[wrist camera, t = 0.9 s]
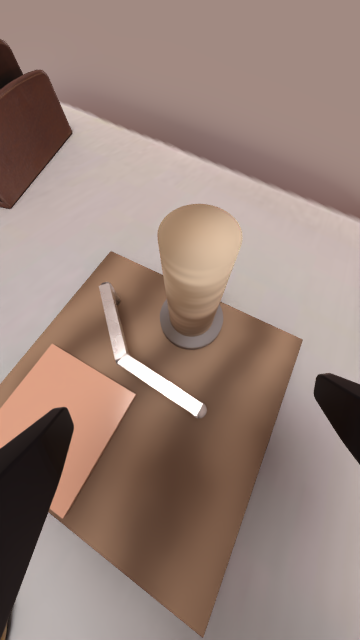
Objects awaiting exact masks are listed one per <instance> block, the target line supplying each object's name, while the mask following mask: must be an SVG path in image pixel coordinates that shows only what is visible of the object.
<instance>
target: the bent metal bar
mask: <svg viewBox="0 0 360 640" xmlns="http://www.w3.org/2000/svg"><path fill="white" fill-rule="evenodd" d="M99 289H100V294H101V298H102V303H103V307H104V312H105V317H106V321H107V326H108V330H109V335H110V339H111V344H112V348H113V353H114V357H115V360H116V363H117V365H119V366H120V367H122V368H124V369H126V370H127V371H130V372H131V373H133V374H134V375H136V376H137V377H139V378H140V379H142V380H143V381H145V382H146V383H148V384H149V385H151V386H152V387H154V388H155V389H156V390H158V391H159V392H161V393H162V394H164V395H165V396H167V397H168V398H170V399H171V400H173V401H174V402H176V403H177V404H179V405H180V406H182V407H183V408H185V409H186V410H188V411H189V412H191V413H192V415H193V416H194V417H196V418H203V417H204V416H205V415H206V412H207V408H206V406H205V404H204V403H202V402H200V401H198V400H196V399H195V398H193V397H192V396H190V395H189V394H187V393H186V392H184V391H182V390H181V389H179V388H178V387H176V386H175V385H173V384H172V383H170V382H169V381H167V380H166V379H164V378H163V377H161V376H160V375H158V374H156V373H155V372H153V371H152V370H150V369H149V368H147V367H146V366H144V365H143V364H141V363H140V362H138V361H137V360H135V359H134V358H132V357H131V356H130V355H129V353H128V349H127V345H126V341H125V337H124V333H123V329H122V325H121V321H120V317H119V313H118V309H117V305H119V304H120V298H119V296H118V295H117V293H116V291H115V290H114V288H113V286H112V285H111V283H109V282H104V283H102V284H101V285H100V286H99Z"/></svg>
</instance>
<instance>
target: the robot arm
mask: <svg viewBox="0 0 360 640" xmlns="http://www.w3.org/2000/svg"><path fill="white" fill-rule="evenodd" d="M314 397H315V399H316V401H317V402H318V404H319V406H320V407H321V409H322V410H323V412H324V414H325V415H326V417H327V418H328V420H329V421H330V423H331V425H332V426H333V428H334V429H335V431H336V433H337V434H338V436H339V437H340V439H341V440H342V441H343V443H344V444H345V446H346V447H347V448H348V450H349V451H350V452H351V454H352V455H353V456H354V458H355V459H356V460H357V462H358V463H359V464H360V384H357V383H355V382H352V381H350V380H347V379H344V378H342V377H339V376H337V375H334V374H331V373H325V374H319V375H318V376H317V377H316V382H315V387H314ZM73 431H74V424H73V421H72V418H71V415H70V413H69V410H68V408H66V407H58V408H53V409H52V410H50V411H49V412H48V413H46V414H45V415H44V416H42V417H41V418H40V419H38V420H37V421H36V422H35V423H33V424H32V425H31V426H29V427H28V428H27V429H25V430H24V431H23V432H21V433H20V434H19V435H17V436H16V437H15V438H14V439H12V440H11V441H10V442H8V443H7V444H6V445H4V446H3V447H2V448H0V640H1V638H2V635H3V632H4V630H5V627H6V624H7V621H8V619H9V616H10V613H11V611H12V608H13V605H14V603H15V600H16V597H17V595H18V592H19V589H20V587H21V584H22V581H23V578H24V576H25V573H26V570H27V568H28V565H29V562H30V560H31V557H32V554H33V552H34V549H35V546H36V544H37V541H38V538H39V536H40V533H41V530H42V527H43V525H44V522H45V519H46V517H47V514H48V511H49V509H50V506H51V503H52V501H53V498H54V495H55V493H56V490H57V487H58V484H59V481H60V478H61V475H62V472H63V468H64V464H65V461H66V457H67V453H68V450H69V446H70V442H71V439H72V435H73Z"/></svg>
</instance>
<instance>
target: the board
mask: <svg viewBox="0 0 360 640" xmlns="http://www.w3.org/2000/svg"><path fill="white" fill-rule="evenodd" d="M104 282H109V283H111V285H112V286H113V288H114V290H115V291H116V293H117V295H118V296H119V298H120V304H119V305H117V309H118V313H119V317H120V321H121V325H122V329H123V333H124V337H125V341H126V345H127V349H128V353H129V355H130V356H131V357H132V358H134V359H135V360H137V361H138V362H140V363H141V364H143V365H144V366H146V367H147V368H149V369H150V370H152V371H153V372H155V373H156V374H158V375H160V376H161V377H163V378H164V379H166V380H167V381H169V382H170V383H172V384H173V385H175V386H176V387H178V388H179V389H181V390H182V391H184V392H186V393H187V394H189V395H190V396H192V397H193V398H195V399H196V400H198V401H200V402H202V403H204V404H205V406H206V408H207V412H206V415H205V416H204V417H203V418H196V417H194V416H193V415H192V413H191V412H189V411H188V410H186V409H185V408H183V407H182V406H180V405H179V404H177V403H176V402H174V401H173V400H171V399H170V398H168V397H167V396H165V395H164V394H162V393H161V392H159V391H158V390H156V389H155V388H154V387H152V386H151V385H149V384H148V383H146V382H145V381H143V380H142V379H140V378H139V377H137V376H136V375H134V374H133V373H131V372H130V371H127V370H126V369H124V368H122V367H120V366H119V365H117V363H116V360H115V357H114V353H113V348H112V344H111V339H110V335H109V330H108V326H107V321H106V317H105V312H104V307H103V303H102V298H101V294H100V289H99V286H100V285H101V284H102V283H104ZM166 299H167V297H166V291H165V284H164V277H163V275H161V274H159V273H157V272H155V271H153V270H151V269H148V268H146V267H144V266H142V265H140V264H138V263H135V262H133V261H131V260H129V259H127V258H125V257H122V256H120V255H118V254H116V253H114V252H112V251H111V252H110V253H109V254H108V255H107V256H106V258H105V259H104V260H103V261H102V262H101V264H100V265H99V266H98V267H97V268H96V270H95V271H94V272H93V273H92V274H91V276H90V277H89V278H88V279H87V280H86V282H85V283H84V284H83V285H82V286H81V288H80V289H79V290H78V291H77V292H76V294H75V295H74V296H73V297H72V298H71V300H70V301H69V302H68V303H67V304H66V306H65V307H64V308H63V309H62V310H61V312H60V313H59V314H58V315H57V316H56V318H55V319H54V320H53V321H52V322H51V324H50V325H49V326H48V327H47V329H46V330H45V331H44V332H43V333H42V335H41V336H40V337H39V338H38V339H37V341H36V342H35V343H34V344H33V345H32V347H31V348H30V349H29V350H28V351H27V353H26V354H25V355H24V356H23V357H22V359H21V360H20V361H19V362H18V363H17V365H16V366H15V367H14V368H13V369H12V371H11V372H10V373H9V374H8V375H7V377H6V378H5V379H4V380H3V381H2V383H1V384H0V408H1V407H2V406H3V404H4V403H5V402H6V401H7V399H8V398H9V397H10V396H11V394H12V393H13V392H14V391H15V389H16V388H17V387H18V386H19V384H20V383H21V382H22V381H23V379H24V378H25V377H26V376H27V374H28V373H29V372H30V371H31V369H32V368H33V367H34V366H35V364H36V363H37V362H38V361H39V359H40V358H41V357H42V356H43V354H44V353H45V352H46V350H47V349H48V348H49V347H50V345H51V344H54V345H56V346H58V347H59V348H61V349H63V350H64V351H66V352H67V353H69V354H71V355H72V356H74V357H76V358H77V359H79V360H81V361H82V362H84V363H86V364H87V365H89V366H91V367H92V368H94V369H96V370H97V371H99V372H100V373H102V374H104V375H105V376H107V377H109V378H110V379H112V380H114V381H115V382H117V383H119V384H120V385H122V386H124V387H125V388H127V389H129V390H130V391H132V392H133V393H135V394H137V395H136V397H135V399H134V400H133V402H132V404H131V405H130V407H129V409H128V411H127V412H126V414H125V416H124V417H123V419H122V421H121V423H120V424H119V426H118V428H117V429H116V431H115V433H114V434H113V436H112V438H111V440H110V441H109V443H108V445H107V446H106V448H105V450H104V452H103V453H102V455H101V457H100V458H99V460H98V462H97V464H96V465H95V467H94V469H93V470H92V472H91V474H90V476H89V477H88V479H87V481H86V482H85V484H84V486H83V487H82V489H81V491H80V493H79V494H78V496H77V498H76V499H75V501H74V503H73V505H72V506H71V508H70V510H69V511H68V513H67V515H66V516H65V517H64V518H63V519H62V518H61V517H59V516H58V515H57V514H56V513H55V512H53V511H52V510H51V509H49V511H48V512H49V513H50V514H51V515H53V516H54V517H55V518H56V519H58V520H59V521H60V522H61V523H62V524H64V525H65V526H66V527H67V528H69V529H70V530H71V531H72V532H73V533H75V534H76V535H77V536H78V537H80V538H81V539H82V540H83V541H85V542H86V543H87V544H88V545H89V546H91V547H92V548H93V549H94V550H96V551H97V552H98V553H99V554H100V555H102V556H103V557H104V558H105V559H107V560H108V561H109V562H110V563H112V564H113V565H114V566H115V567H116V568H118V569H119V570H120V571H121V572H123V573H124V574H125V575H126V576H127V577H129V578H130V579H131V580H132V581H134V582H135V583H136V584H137V585H139V586H140V587H141V588H142V589H143V590H145V591H146V592H147V593H148V594H150V595H151V596H152V597H153V598H154V599H156V600H157V601H158V602H159V603H161V604H162V605H163V606H164V607H166V608H167V609H168V610H169V611H170V612H172V613H173V614H174V615H175V616H177V617H178V618H179V619H180V620H181V621H183V622H184V623H185V624H186V625H188V626H189V627H190V628H191V629H192V630H194V631H195V632H196V633H197V634H199V635H200V636H201V637H202V638H203V637H204V634H205V631H206V628H207V625H208V622H209V619H210V616H211V613H212V610H213V607H214V604H215V601H216V598H217V595H218V592H219V589H220V586H221V583H222V580H223V577H224V574H225V571H226V568H227V565H228V562H229V559H230V556H231V553H232V550H233V547H234V544H235V541H236V538H237V535H238V532H239V529H240V526H241V523H242V520H243V517H244V514H245V511H246V508H247V505H248V502H249V499H250V496H251V493H252V490H253V487H254V484H255V481H256V478H257V475H258V472H259V469H260V466H261V463H262V460H263V457H264V454H265V451H266V448H267V445H268V442H269V439H270V436H271V433H272V430H273V427H274V424H275V421H276V418H277V415H278V412H279V409H280V406H281V403H282V400H283V397H284V394H285V391H286V388H287V385H288V382H289V379H290V376H291V373H292V370H293V367H294V365H295V362H296V359H297V356H298V353H299V350H300V347H301V344H302V341H303V340H302V339H300V338H298V337H296V336H294V335H291V334H289V333H287V332H285V331H283V330H281V329H278V328H276V327H274V326H272V325H270V324H268V323H265V322H263V321H261V320H259V319H257V318H255V317H252V316H250V315H248V314H246V313H244V312H242V311H239V310H237V309H235V308H233V307H231V306H229V305H226V304H224V303H222V302H220V306H221V309H222V312H223V324H222V327H221V330H220V332H219V334H218V335H217V337H216V338H215V340H214V341H213V342H212V343H210V344H209V345H207V346H206V347H203V348H201V349H196V350H187V349H183V348H180V347H177V346H175V345H174V344H172V343H171V342H170V341H169V340H168V339H167V338H166V336H165V335H164V333H163V330H162V327H161V323H160V311H161V308H162V305H163V303H164V302H165V300H166Z"/></svg>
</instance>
